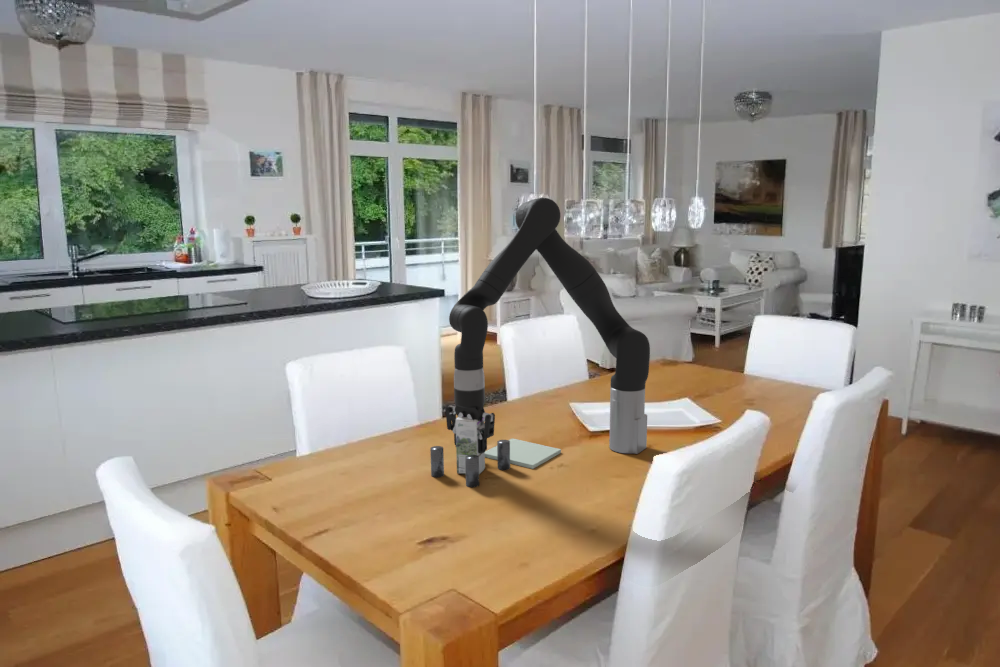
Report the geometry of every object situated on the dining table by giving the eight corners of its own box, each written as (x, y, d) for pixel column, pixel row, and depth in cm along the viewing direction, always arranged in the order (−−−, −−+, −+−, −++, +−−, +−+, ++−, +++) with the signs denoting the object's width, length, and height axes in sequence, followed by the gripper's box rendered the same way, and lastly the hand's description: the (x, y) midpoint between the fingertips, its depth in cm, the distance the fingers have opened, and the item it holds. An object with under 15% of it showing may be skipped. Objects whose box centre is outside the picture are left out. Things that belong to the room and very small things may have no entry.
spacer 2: (481, 484, 169) (481, 456, 167) (473, 488, 166) (473, 460, 165) (471, 481, 171) (470, 453, 169) (463, 485, 168) (462, 457, 167)
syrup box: (485, 468, 178) (484, 413, 176) (477, 477, 173) (476, 420, 170) (464, 466, 180) (463, 411, 178) (456, 474, 175) (454, 418, 172)
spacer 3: (512, 467, 179) (512, 441, 178) (505, 471, 177) (505, 444, 175) (502, 464, 181) (502, 438, 180) (495, 468, 178) (494, 442, 177)
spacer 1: (446, 474, 175) (446, 447, 174) (438, 478, 172) (437, 451, 171) (436, 471, 177) (436, 445, 176) (428, 475, 174) (427, 448, 173)
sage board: (561, 452, 189) (561, 449, 189) (532, 468, 178) (532, 465, 178) (512, 441, 198) (512, 438, 198) (482, 456, 187) (482, 452, 187)
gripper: (501, 386, 171) (502, 451, 175) (456, 378, 180) (457, 440, 183) (483, 393, 165) (484, 460, 169) (437, 384, 174) (438, 448, 177)
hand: (470, 449), depth 176 cm, fingers closed on syrup box, 6 cm apart
